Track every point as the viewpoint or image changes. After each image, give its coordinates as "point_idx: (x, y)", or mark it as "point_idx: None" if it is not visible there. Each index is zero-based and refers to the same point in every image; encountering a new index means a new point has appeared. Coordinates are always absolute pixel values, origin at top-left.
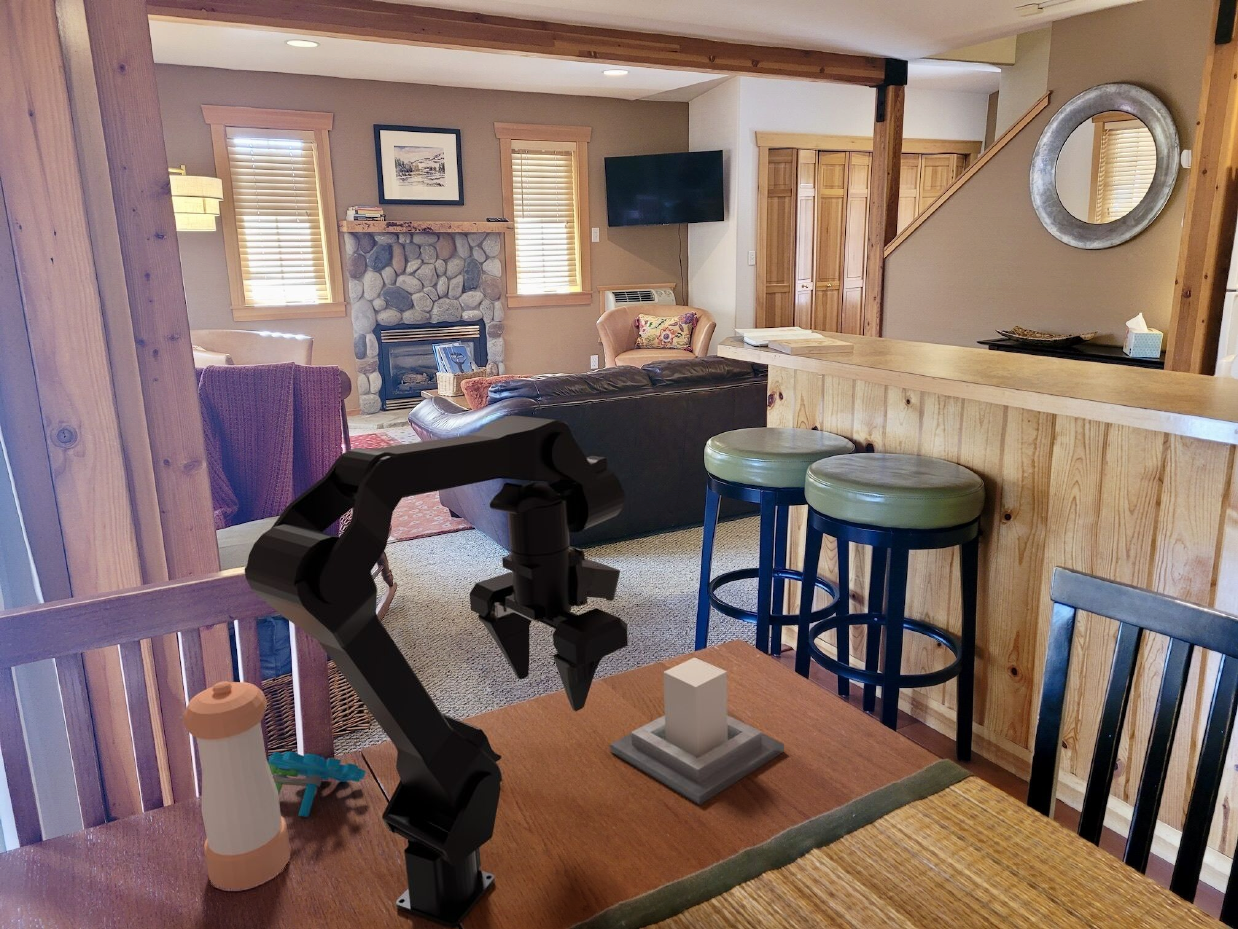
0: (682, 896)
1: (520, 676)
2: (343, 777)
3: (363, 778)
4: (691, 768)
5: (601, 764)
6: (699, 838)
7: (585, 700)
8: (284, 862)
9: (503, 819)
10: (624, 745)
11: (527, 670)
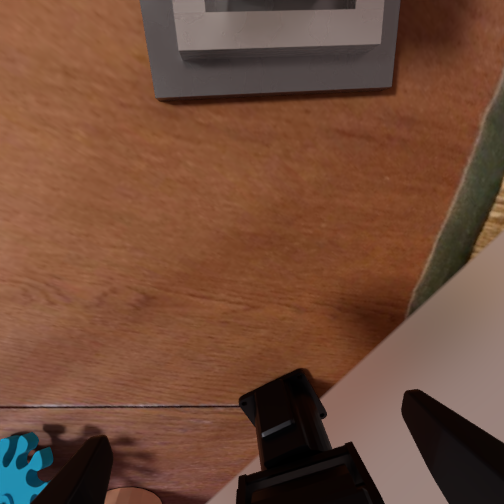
0: (461, 236)
1: (107, 468)
2: (26, 457)
3: (49, 448)
4: (359, 46)
5: (184, 142)
6: (424, 149)
7: (444, 407)
8: (148, 498)
9: (213, 322)
10: (177, 77)
11: (94, 459)
